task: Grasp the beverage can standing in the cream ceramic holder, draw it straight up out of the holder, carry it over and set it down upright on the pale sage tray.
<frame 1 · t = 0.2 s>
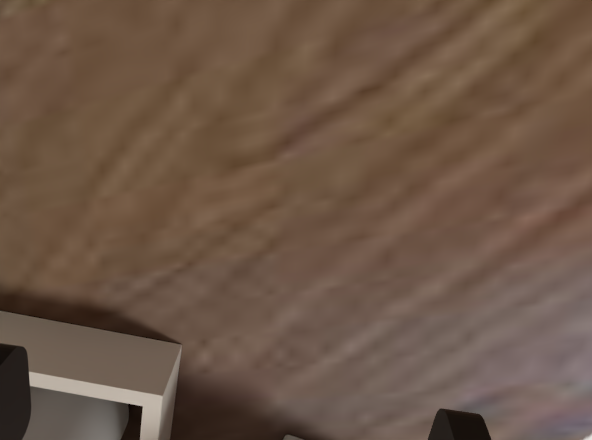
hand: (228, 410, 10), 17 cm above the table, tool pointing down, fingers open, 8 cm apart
beverage can: (85, 395, 35), resting in holder
holder: (84, 397, 34), on the table
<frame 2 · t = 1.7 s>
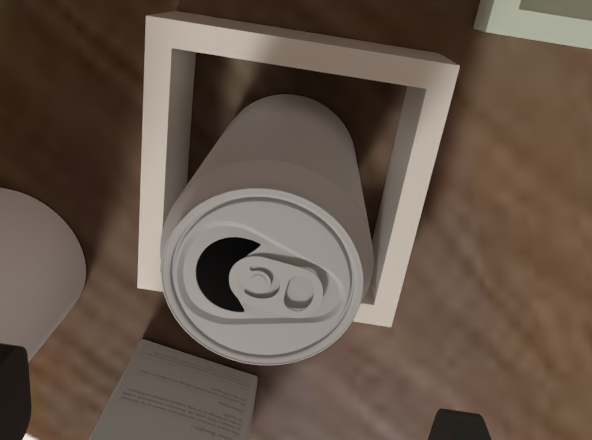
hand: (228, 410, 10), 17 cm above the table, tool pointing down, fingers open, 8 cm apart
beverage can: (289, 157, 26), resting in holder
supplement box: (186, 398, 32), on the table
holder: (288, 158, 26), on the table
cup: (12, 257, 29), on the table
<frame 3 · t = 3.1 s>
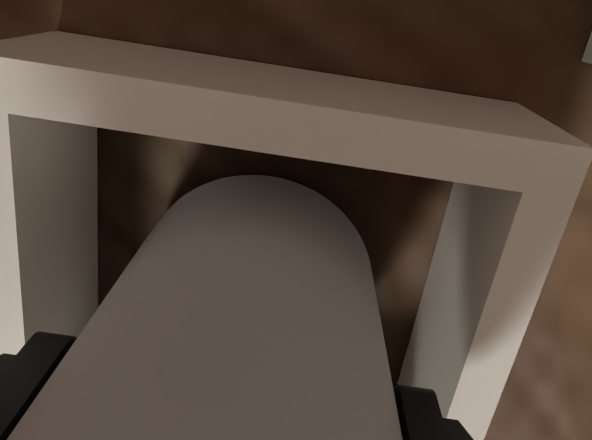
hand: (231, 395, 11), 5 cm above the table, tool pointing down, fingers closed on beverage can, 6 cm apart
beverage can: (261, 266, 16), resting in holder, touching gripper
holder: (261, 269, 16), on the table
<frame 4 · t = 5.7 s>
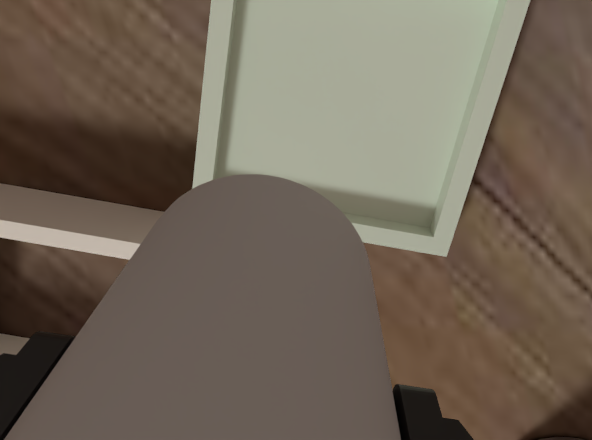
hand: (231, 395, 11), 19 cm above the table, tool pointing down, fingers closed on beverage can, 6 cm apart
beverage can: (260, 265, 16), point 14 cm above the table, touching gripper
holder: (73, 282, 33), on the table
tray: (344, 97, 28), on the table
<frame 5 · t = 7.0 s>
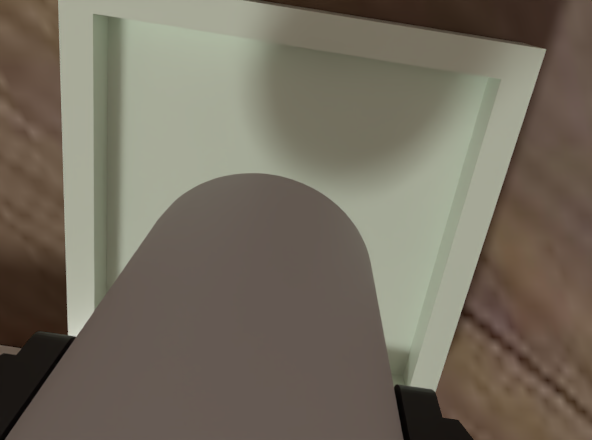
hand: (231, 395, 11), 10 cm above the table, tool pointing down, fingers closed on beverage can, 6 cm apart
beverage can: (261, 264, 16), point 4 cm above the table, touching gripper
tray: (276, 209, 20), on the table
when the fingers open (7 cm above the table, at t = 8.1 s): beverage can stays where it is, resting on tray.
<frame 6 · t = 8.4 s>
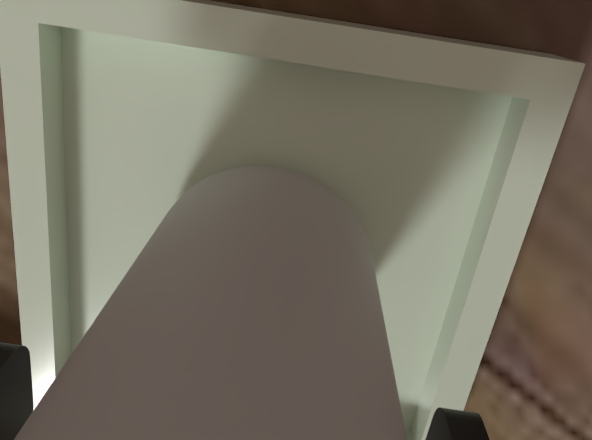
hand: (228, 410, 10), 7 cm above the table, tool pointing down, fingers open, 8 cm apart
beverage can: (267, 254, 17), point 1 cm above the table, touching tray
tray: (264, 245, 17), on the table
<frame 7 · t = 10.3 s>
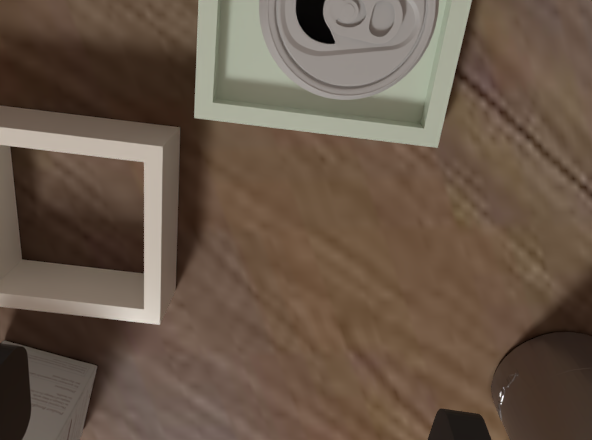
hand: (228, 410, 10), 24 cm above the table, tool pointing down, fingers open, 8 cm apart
beverage can: (335, 0, 29), point 1 cm above the table, touching tray
supplement box: (47, 385, 41), on the table
holder: (89, 203, 35), on the table
tray: (332, 0, 29), on the table
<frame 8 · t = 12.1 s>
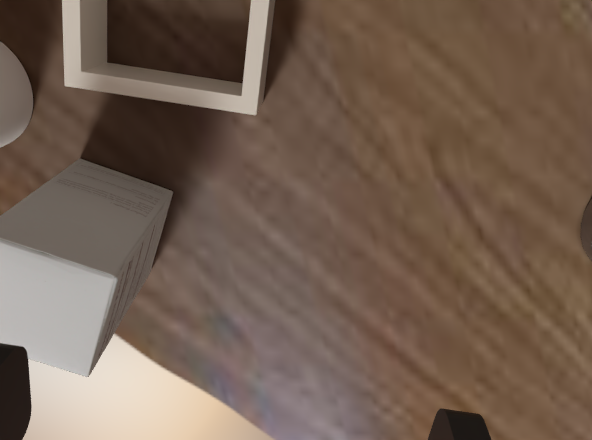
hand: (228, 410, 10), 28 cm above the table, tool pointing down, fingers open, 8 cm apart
supplement box: (118, 215, 40), on the table
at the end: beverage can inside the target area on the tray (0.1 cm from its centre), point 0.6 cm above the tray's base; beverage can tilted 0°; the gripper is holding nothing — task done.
